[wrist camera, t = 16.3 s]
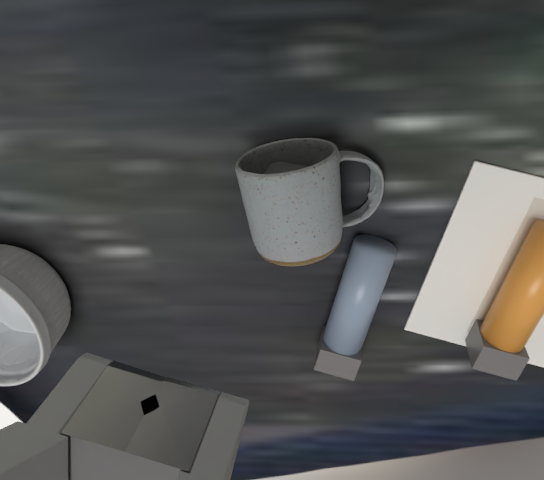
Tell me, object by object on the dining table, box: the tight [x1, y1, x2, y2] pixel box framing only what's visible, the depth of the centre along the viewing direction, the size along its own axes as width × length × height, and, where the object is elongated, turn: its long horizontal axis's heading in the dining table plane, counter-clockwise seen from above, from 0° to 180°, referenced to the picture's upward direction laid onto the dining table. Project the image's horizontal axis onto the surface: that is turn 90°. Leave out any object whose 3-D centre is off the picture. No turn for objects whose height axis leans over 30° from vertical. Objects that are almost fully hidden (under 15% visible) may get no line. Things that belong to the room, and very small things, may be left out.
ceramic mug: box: [235, 138, 384, 266], centre depth 36 cm, size 10×8×7 cm
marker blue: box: [314, 235, 397, 381], centre depth 42 cm, size 12×4×4 cm, turn 169°
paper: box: [404, 160, 544, 367], centre depth 40 cm, size 16×14×1 cm
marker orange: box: [465, 220, 544, 381], centre depth 39 cm, size 12×4×4 cm, turn 169°
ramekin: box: [0, 244, 71, 386], centre depth 48 cm, size 13×13×7 cm
